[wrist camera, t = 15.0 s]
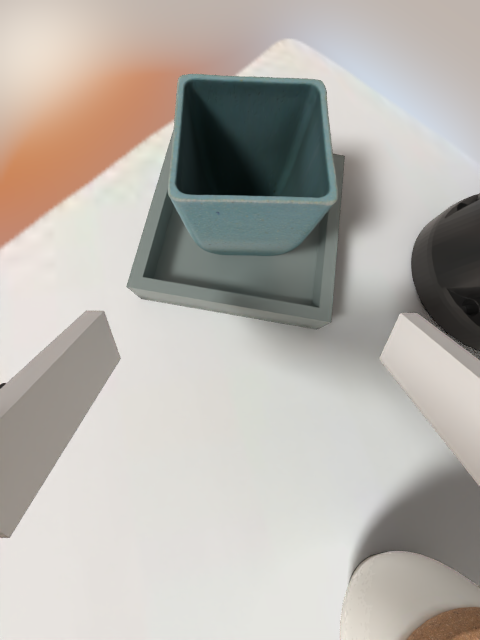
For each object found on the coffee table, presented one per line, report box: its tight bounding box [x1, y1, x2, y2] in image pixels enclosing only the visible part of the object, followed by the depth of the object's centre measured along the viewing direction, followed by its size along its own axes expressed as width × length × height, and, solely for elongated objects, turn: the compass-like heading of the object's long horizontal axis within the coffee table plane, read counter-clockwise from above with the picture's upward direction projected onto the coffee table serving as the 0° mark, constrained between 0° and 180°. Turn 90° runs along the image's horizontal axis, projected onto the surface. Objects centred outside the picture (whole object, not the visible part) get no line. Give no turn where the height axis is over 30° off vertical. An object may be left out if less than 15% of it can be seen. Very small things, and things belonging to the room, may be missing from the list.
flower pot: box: [168, 74, 338, 256], centre depth 17 cm, size 9×9×9 cm
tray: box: [126, 130, 345, 329], centre depth 21 cm, size 16×16×3 cm
